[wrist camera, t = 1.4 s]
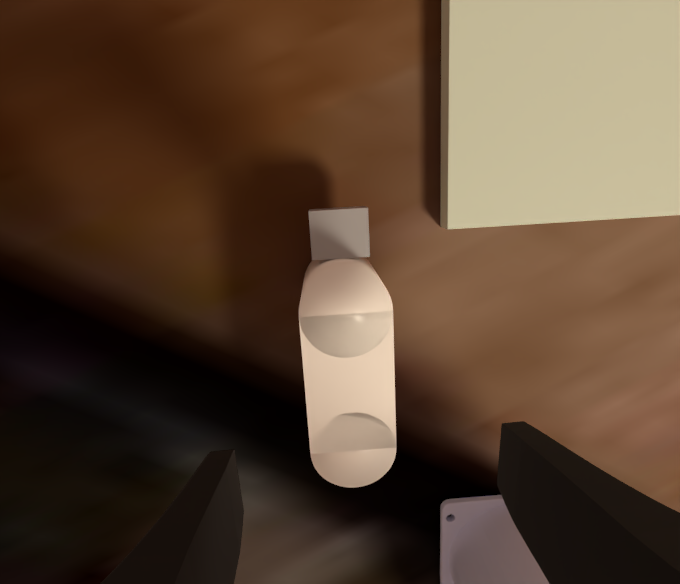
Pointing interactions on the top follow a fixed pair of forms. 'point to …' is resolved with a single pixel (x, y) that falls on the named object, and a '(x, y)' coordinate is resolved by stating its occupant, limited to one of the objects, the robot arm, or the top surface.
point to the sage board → (559, 111)
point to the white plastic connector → (347, 352)
